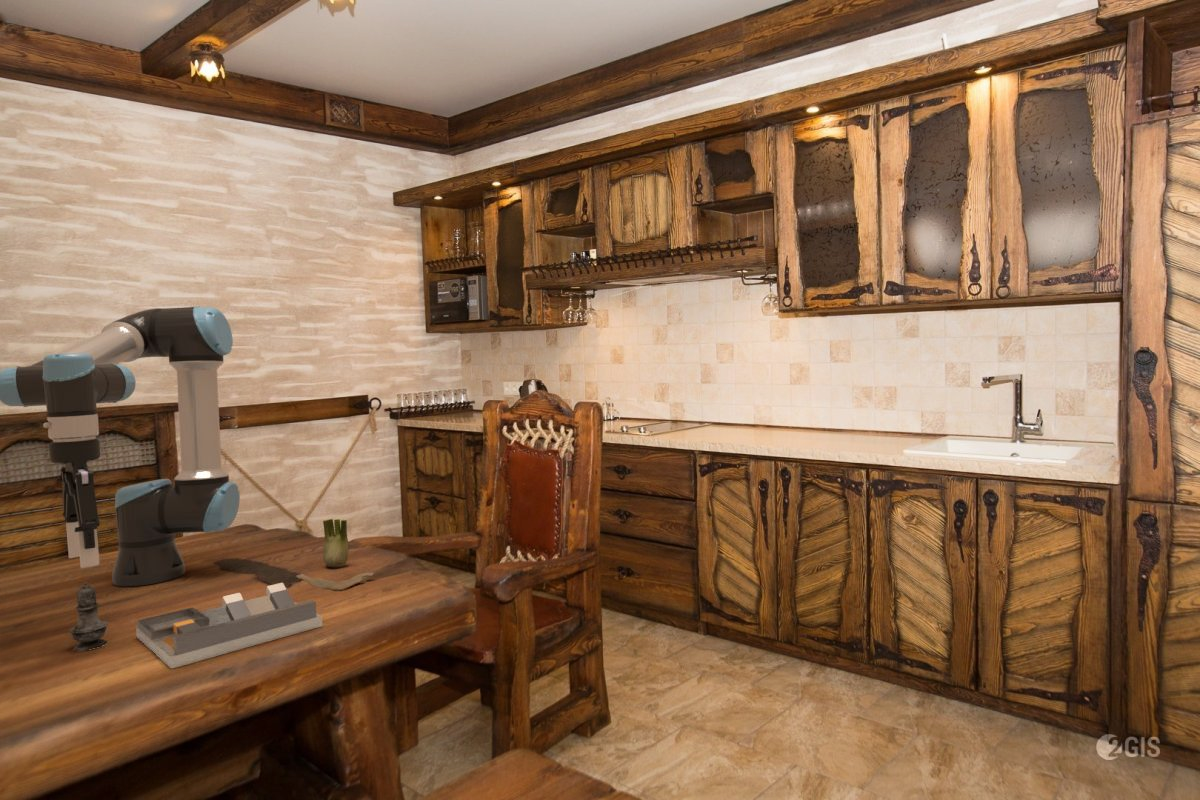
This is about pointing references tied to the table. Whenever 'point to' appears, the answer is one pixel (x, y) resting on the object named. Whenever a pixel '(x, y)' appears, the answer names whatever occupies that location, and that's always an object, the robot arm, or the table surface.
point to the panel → (223, 630)
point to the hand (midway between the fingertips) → (83, 561)
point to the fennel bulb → (335, 543)
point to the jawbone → (333, 584)
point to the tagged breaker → (185, 626)
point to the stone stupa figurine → (88, 621)
